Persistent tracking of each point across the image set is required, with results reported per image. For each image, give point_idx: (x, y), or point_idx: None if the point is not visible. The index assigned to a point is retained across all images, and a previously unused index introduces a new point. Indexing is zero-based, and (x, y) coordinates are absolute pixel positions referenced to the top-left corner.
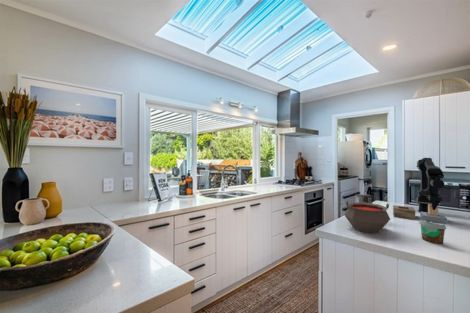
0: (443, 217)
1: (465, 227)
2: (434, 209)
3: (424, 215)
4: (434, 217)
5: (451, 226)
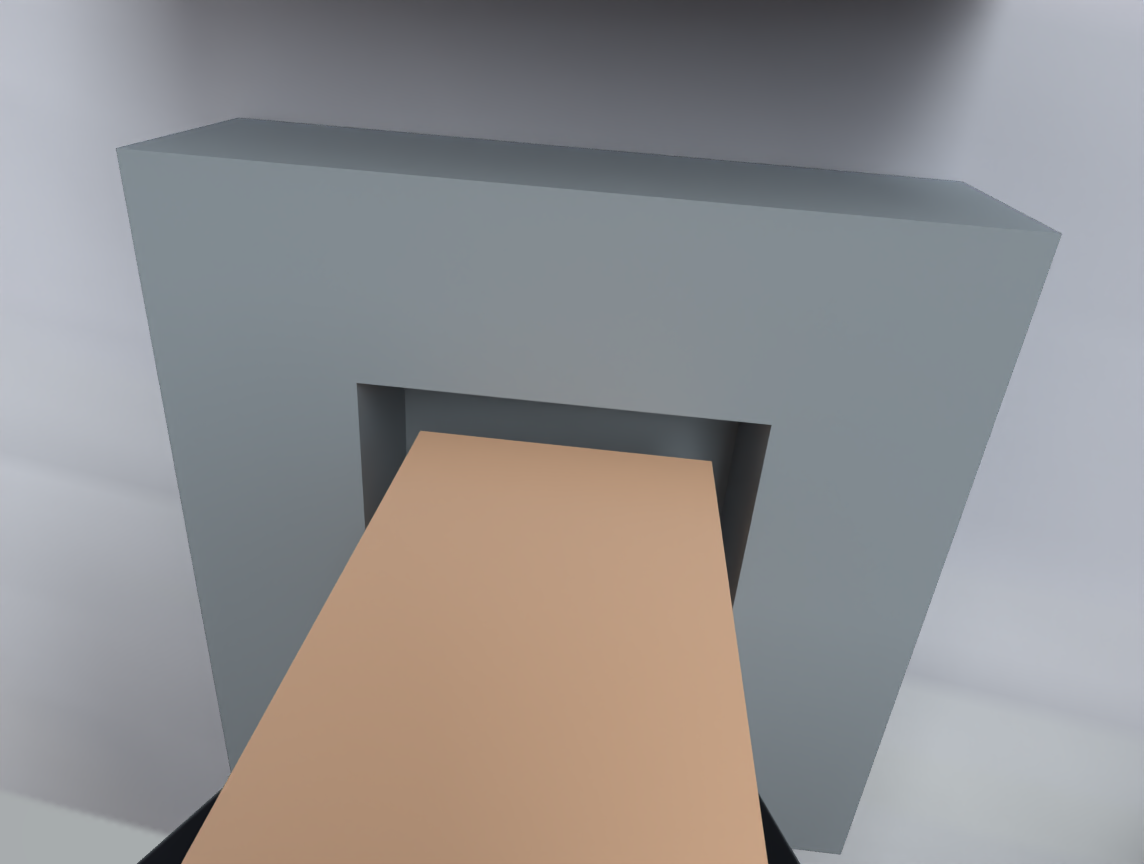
0: None
1: None
2: None
3: (167, 217)
4: (195, 509)
5: (86, 661)
